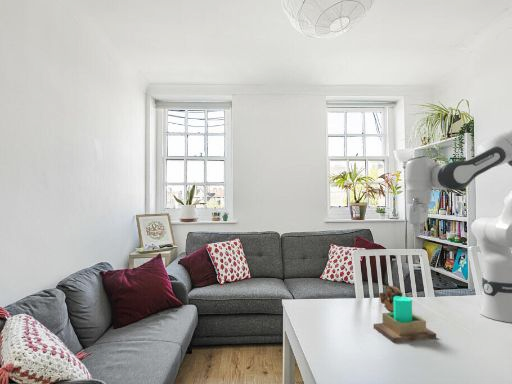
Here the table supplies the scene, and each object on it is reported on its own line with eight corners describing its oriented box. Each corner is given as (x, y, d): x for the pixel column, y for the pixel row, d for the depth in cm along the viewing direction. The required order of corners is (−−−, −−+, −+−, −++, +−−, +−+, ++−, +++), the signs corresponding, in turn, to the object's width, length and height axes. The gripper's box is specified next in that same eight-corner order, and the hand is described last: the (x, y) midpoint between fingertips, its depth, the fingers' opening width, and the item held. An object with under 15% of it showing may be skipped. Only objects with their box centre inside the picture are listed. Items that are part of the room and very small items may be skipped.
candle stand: (412, 324, 120) (412, 309, 120) (436, 338, 108) (435, 321, 108) (373, 328, 117) (373, 312, 117) (393, 342, 105) (392, 325, 105)
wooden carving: (375, 304, 142) (375, 281, 142) (385, 303, 143) (384, 281, 143) (399, 318, 126) (398, 292, 126) (409, 317, 127) (408, 291, 127)
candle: (414, 332, 109) (413, 297, 109) (395, 331, 110) (394, 296, 111) (410, 325, 115) (409, 292, 115) (392, 324, 116) (391, 291, 116)
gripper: (423, 198, 113) (424, 238, 113) (430, 198, 130) (431, 232, 130) (404, 198, 117) (405, 236, 116) (413, 198, 133) (414, 231, 133)
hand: (419, 234), depth 123 cm, fingers open, 8 cm apart
